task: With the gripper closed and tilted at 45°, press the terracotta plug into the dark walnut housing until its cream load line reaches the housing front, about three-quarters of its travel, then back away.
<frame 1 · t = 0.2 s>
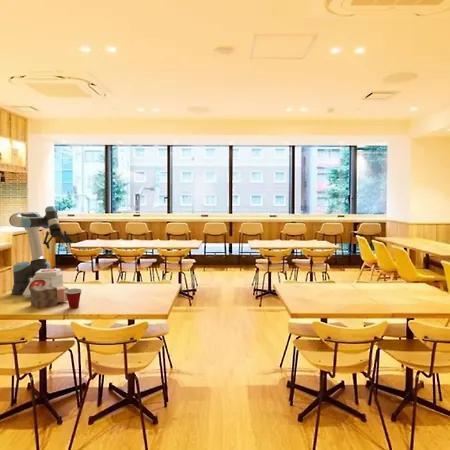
hand: (60, 252, 312), 35 cm above the table, tool tilted 35°, fingers open, 13 cm apart
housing: (53, 303, 309), on the table
plug: (57, 294, 310), point 6 cm above the table, slide at 0.0 cm
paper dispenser: (44, 295, 333), on the table
plastic cup: (73, 308, 297), on the table
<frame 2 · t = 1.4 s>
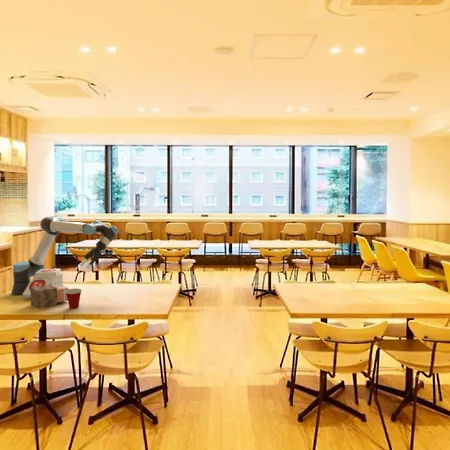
hand: (83, 267, 322), 23 cm above the table, tool tilted 45°, fingers open, 10 cm apart
nothing on the table moved.
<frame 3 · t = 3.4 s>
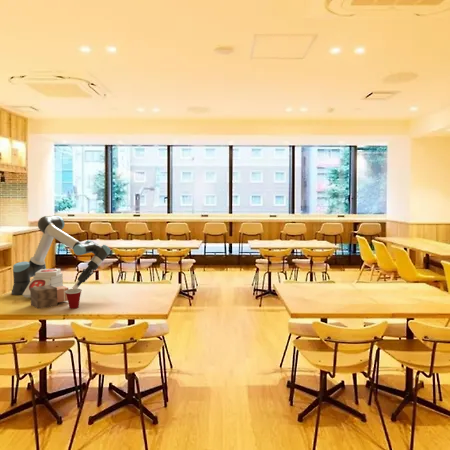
hand: (74, 288, 318), 8 cm above the table, tool tilted 45°, fingers closed
nothing on the table moved.
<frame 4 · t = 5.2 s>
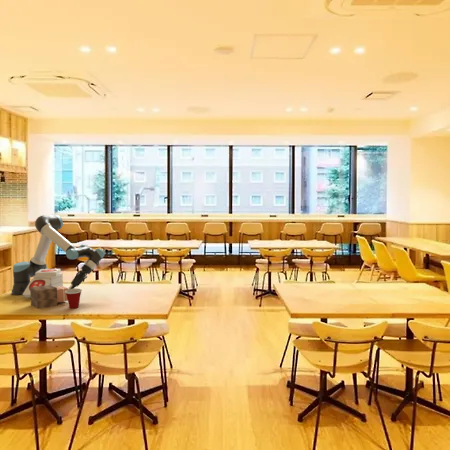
hand: (67, 293, 315), 6 cm above the table, tool tilted 45°, fingers closed
plug: (57, 294, 310), point 6 cm above the table, slide at 0.4 cm, touching gripper
everything else where it was.
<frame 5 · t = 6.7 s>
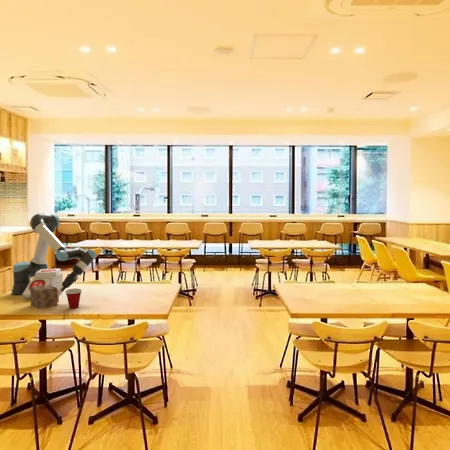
hand: (57, 294, 310), 6 cm above the table, tool tilted 45°, fingers closed
plug: (47, 296, 305), point 6 cm above the table, slide at 7.1 cm, touching gripper
everything else where it was.
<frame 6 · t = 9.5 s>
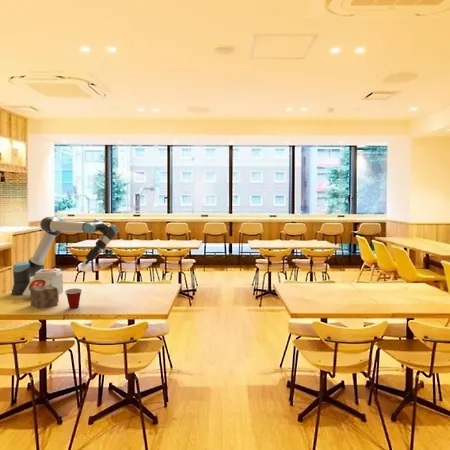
hand: (82, 266, 321), 23 cm above the table, tool tilted 45°, fingers closed
plug: (47, 296, 305), point 6 cm above the table, slide at 7.1 cm
everything else where it was.
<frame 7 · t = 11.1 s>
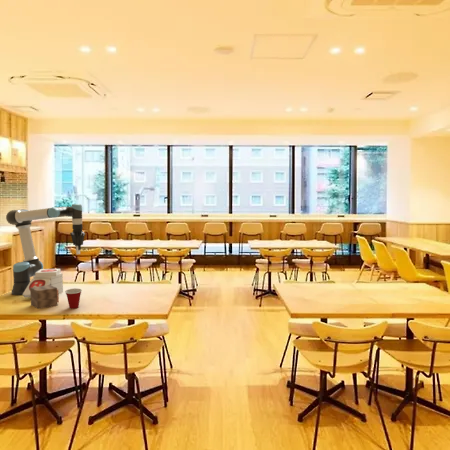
hand: (78, 254, 345), 29 cm above the table, tool pointing down, fingers closed
nothing on the table moved.
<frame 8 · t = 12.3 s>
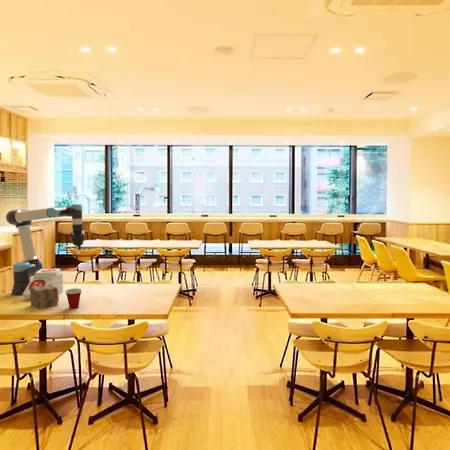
hand: (78, 253, 345), 29 cm above the table, tool pointing down, fingers closed
nothing on the table moved.
at the end: plug slide at 7.1 cm; plastic cup moved 0.2 cm from its start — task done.
